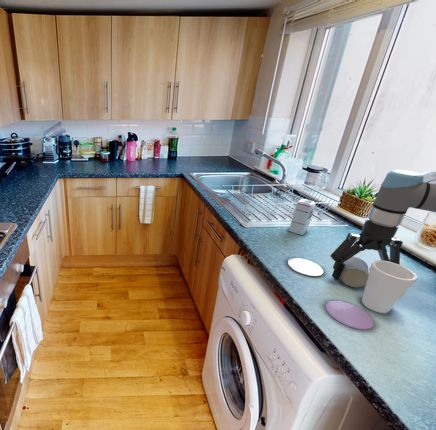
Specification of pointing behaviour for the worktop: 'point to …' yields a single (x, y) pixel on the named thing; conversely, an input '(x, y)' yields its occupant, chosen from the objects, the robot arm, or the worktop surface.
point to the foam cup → (386, 285)
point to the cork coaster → (305, 267)
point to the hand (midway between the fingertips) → (354, 280)
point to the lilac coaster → (349, 315)
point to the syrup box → (302, 216)
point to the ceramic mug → (355, 272)
